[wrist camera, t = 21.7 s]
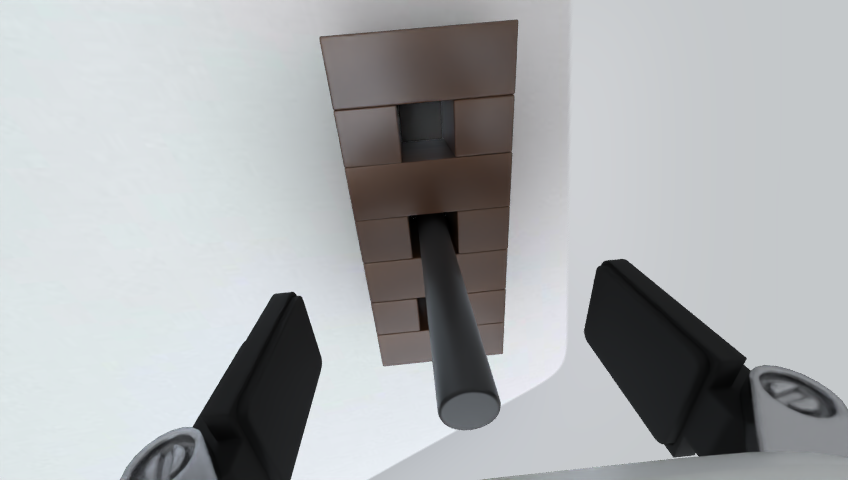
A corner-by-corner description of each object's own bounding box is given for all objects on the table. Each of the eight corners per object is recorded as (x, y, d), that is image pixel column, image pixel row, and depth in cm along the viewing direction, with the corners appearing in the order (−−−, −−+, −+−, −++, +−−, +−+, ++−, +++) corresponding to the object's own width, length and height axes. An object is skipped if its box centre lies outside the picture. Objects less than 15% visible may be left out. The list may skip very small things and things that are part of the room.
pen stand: (341, 47, 16) (318, 36, 11) (486, 35, 16) (518, 19, 12) (386, 312, 24) (383, 366, 19) (483, 302, 24) (502, 353, 19)
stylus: (414, 193, 20) (436, 394, 7) (438, 190, 20) (502, 386, 7) (416, 215, 20) (439, 434, 8) (439, 213, 20) (500, 428, 8)
